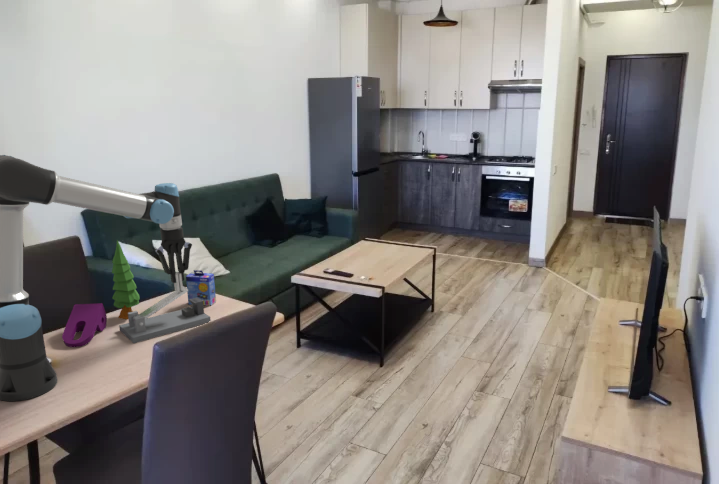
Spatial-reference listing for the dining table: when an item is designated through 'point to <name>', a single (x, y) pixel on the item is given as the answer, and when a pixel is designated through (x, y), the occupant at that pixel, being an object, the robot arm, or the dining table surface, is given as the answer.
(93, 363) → the dining table surface
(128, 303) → the decorative tree
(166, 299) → the grey long flat bar
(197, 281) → the ink cartridge box
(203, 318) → the latch base
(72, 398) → the dining table surface
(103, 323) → the mounting bracket
